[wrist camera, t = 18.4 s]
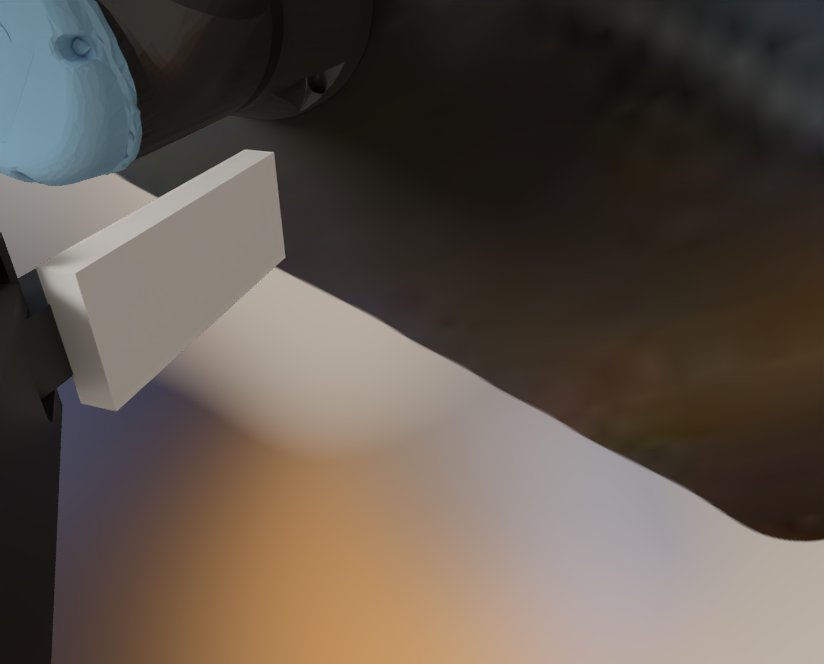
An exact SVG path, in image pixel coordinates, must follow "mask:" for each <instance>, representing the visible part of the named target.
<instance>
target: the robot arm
mask: <svg viewBox="0 0 824 664" xmlns="http://www.w3.org/2000/svg"><path fill="white" fill-rule="evenodd" d="M372 16H373V0H0V173H2V174H5V175H7V176H10V177H12V178H15V179H18V180H21V181H24V182H31V183H32V182H37V183H40V184H45V185H48V186H62V185H68V184H73V183H77V182H80V181H83V180H86V179H90V178H94V177H97V176H101V175H108V174H110V173H115V172H118V171H120V170H123V169H125V168H126V167H127V166H128V165H129V164H130V163H131V162H133V161H135V160H137V159H139V158H141V157H143V156H145V155H147V154H149V153H151V152H154V151H156V150H158V149H160V148H162V147H164V146H166V145H168V144H170V143H172V142H174V141H176V140H179V139H181V138H183V137H185V136H187V135H189V134H191V133H193V132H195V131H197V130H199V129H202V128H204V127H206V126H208V125H210V124H212V123H214V122H216V121H218V120H220V119H222V118H225V117H227V116H229V115H230V116H237V117H244V118H251V119H258V120H276V119H283V118H288V117H292V116H296V115H299V114H301V113H304V112H306V111H308V110H310V109H312V108H313V107H315V106H317V105H319V104H321V103H323V102H324V101H326V100H327V99H329V98H330V97H332V96H333V95H334V94H335V93H336V92H338V91H339V90H340V89H341V88H342V87H343V86H344V84H345V83H346V82H347V81H348V80H349V78H350V77H351V76H352V74H353V73H354V71H355V69H356V68H357V66H358V64H359V62H360V60H361V58H362V56H363V53H364V51H365V48H366V45H367V42H368V38H369V34H370V29H371V24H372ZM284 258H285V250H284V241H283V232H282V223H281V214H280V205H279V195H278V186H277V177H276V168H275V159H274V152H266V151H256V150H246V149H245V150H243V151H241V152H240V153H238V154H236V155H234V156H232V157H231V158H229V159H227V160H225V161H224V162H222V163H220V164H218V165H216V166H215V167H213V168H211V169H209V170H207V171H206V172H204V173H202V174H200V175H199V176H197V177H195V178H193V179H191V180H190V181H188V182H186V183H184V184H182V185H181V186H179V187H177V188H175V189H174V190H172V191H170V192H168V193H166V194H165V195H163V196H161V197H159V198H157V199H156V200H154V201H152V202H150V203H148V204H147V205H145V206H143V207H142V208H140V209H138V210H136V211H135V212H132V213H131V214H129V215H127V216H125V217H124V218H122V219H120V220H118V221H116V222H115V223H113V224H111V225H109V226H108V227H106V228H104V229H102V230H100V231H99V232H97V233H95V234H93V235H91V236H90V237H88V238H86V239H84V240H82V241H81V242H79V243H77V244H75V245H74V246H72V247H70V248H68V249H66V250H65V251H63V252H61V253H59V254H58V255H56V256H54V257H52V258H50V259H49V260H47V261H45V262H43V263H41V264H40V265H38V266H36V269H34V270H32V271H30V272H29V273H27V274H25V275H23V276H21V277H20V278H17V276H16V273H15V270H14V267H13V264H12V261H11V259H10V256H9V253H8V250H7V247H6V244H5V242H4V239H3V236H2V234H1V232H0V664H51V658H52V634H53V612H54V589H55V566H56V564H55V563H56V543H57V542H56V541H57V520H58V496H59V474H60V450H61V429H62V402H61V400H60V397H59V394H58V391H57V387H59V386H60V385H61V384H63V383H64V382H65V381H66V380H68V379H69V378H70V377H72V378H73V380H74V383H75V387H76V389H77V392H78V396H79V398H80V401H81V403H82V404H87V405H91V406H96V407H100V408H104V409H109V410H113V411H117V410H118V409H119V408H120V407H122V406H123V405H124V404H125V403H126V402H127V401H128V400H130V399H131V398H132V397H133V396H134V395H135V394H136V393H137V392H138V391H139V390H140V389H142V387H144V386H145V385H146V384H147V383H148V382H149V381H150V380H151V379H152V378H154V377H155V376H156V375H157V374H158V373H159V372H160V371H161V370H162V369H163V368H164V367H166V366H167V365H168V364H169V363H170V362H171V361H172V360H173V359H174V358H175V357H176V356H178V355H179V354H180V353H181V352H182V351H183V350H184V349H185V348H186V347H187V346H188V345H190V344H191V343H192V342H193V341H194V340H195V339H196V338H197V337H198V336H200V335H201V334H202V333H203V332H204V331H205V330H206V329H207V328H208V327H209V326H210V325H212V324H213V323H214V322H215V321H216V320H217V319H218V318H219V317H220V316H221V315H222V314H224V313H225V312H226V311H227V310H228V309H229V308H230V307H231V306H233V304H235V303H236V302H237V301H238V300H239V299H240V298H241V297H242V296H243V295H245V294H246V293H247V292H248V291H249V290H250V289H251V288H252V287H253V286H254V285H255V284H257V283H258V282H259V281H260V280H261V279H262V278H263V277H264V276H265V275H266V274H268V273H269V272H270V271H271V270H272V269H273V268H274V267H275V266H276V265H277V264H279V263H280V262H281V261H282V260H283V259H284Z"/></svg>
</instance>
